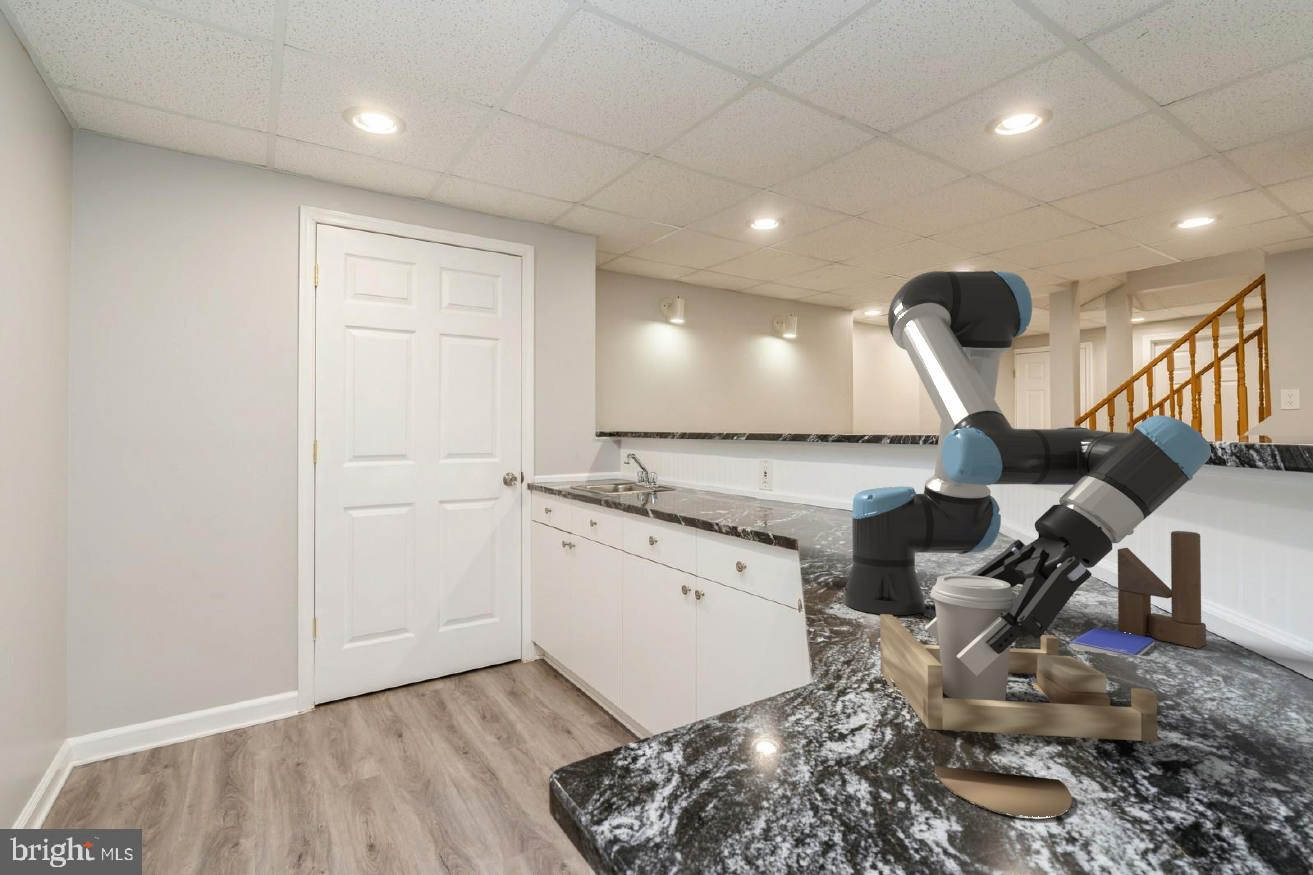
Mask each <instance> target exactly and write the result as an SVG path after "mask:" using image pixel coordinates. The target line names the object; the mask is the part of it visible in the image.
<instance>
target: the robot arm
mask: <svg viewBox="0 0 1313 875" xmlns="http://www.w3.org/2000/svg"><path fill="white" fill-rule="evenodd" d="M887 314H888V315H887V323H888V328H889V332H890V334H891V336H892V339H893V340H894V342H895V344H896V345H897V346H898V347H899V348H900V349H902V350H905V351H906V352H907V354H908V356H909V359H910V361H911V362H912V364H913V366H914V368H915V370H916V372H917V374H918V376H919V379H920V380H921V383H922V384H923V386H924V388H925V389H926V390H925V391H926V392H927V394H928V397H929V398H930V400H931V402H932V404H933V405H934V408H935V410H936V412H937V414H938V415H939V418H940V425H939V426H940V427H939V434H938V442H937V450H936V459H935V467H934V468H935V469H934V474H933V476H931V477H930V478H928V479H927V480H926V481H925V483H924V490H923V493H917V492H916V491H915V488H914V487H912V486H903V485H902V486H886V487H877V488H876V487H875V488H870V489H866V490H865V489H864V490H862V491H859V492H857V493H856V494H855V495H854V497H853V500H852V512H851V514H850V515H851V518H852V519H851V520H852V565H851V569H850V571H849V573H848V578H847V582H846V586H845V587H844V589H843V604H844V605H845V606H847V607H849V608H851V609H854V610H857V611H860V612H866V613H869V614H875V615H876V614H878V615H880V614H887V615H892V616H909V615H918V614H921V613H923V612H924V611H926V602H925V601H926V599H925V595H924V593H923V591H922V587H921V585H920V581H919V577H918V575H917V572H916V553H917V554H919V553H920V554H921V553H922V554H923V553H927V554H930V553H931V554H960V555H966V554H969V553H970V554H971V553H972V554H973V553H981V552H985V551H986V550H988V549H989V548H990V547H992V545H993V544H994V543H996V542H995V541H996V540H997V538H998V536H999V533H1000V529H1001V523H1002V516H1001V514H1000V510H1001V509H1000V506H999V504H998V502H997V500H996V499H995V498H994V497H993V496H991V491H992V490H991V489H990V488H989V487H988V486H991V485H1037V486H1042V485H1043V486H1046V485H1047V486H1049V485H1050V486H1051V485H1052V486H1071V487H1070V488H1069V489H1068V490H1067V491H1066V492H1065V493H1064V494H1063V495H1062V496H1061V497H1060V498H1059V500H1058V501H1059V502H1058V503H1059V504H1053V505H1051V507H1049V508H1048V509H1047V510H1046V511H1045V512H1044V513H1043V514H1042V515H1041V516H1040V517H1039V518H1038V519H1036V520H1035V523H1034V529H1035V531H1036V532H1037V534H1038V537H1037V539H1035V540H1033V541H1032V542H1030V543H1029V544H1025V543H1023V541H1021V539H1015V540H1014V541H1013V542H1012V543H1011V544H1010V545H1009V546H1008V547H1007V548H1006V549H1004V550H1003V551H1001V553H999V554H998V555H997V556H996V557H994V558H993V559H990V561H988V562H987V563H985V564H984V565H983V566H982V567H980V568H979V569H978V570H975V571H974V572H973V573H972V574H971V575H972V576H981V577H988V578H994V579H998V580H1002V581H1005V582H1007V583H1009V584H1010V585H1011V588H1012V589H1013V588H1014V587H1016V586H1018V585H1022V587H1021V588H1020V590H1019V592H1018V594H1017V595H1016V599H1015V601H1014V603H1013V605H1012V607H1011V608H1010V610H1009V611H1008V612H1002V613H1000V616H1001V617H1002V618H1003V619H1004V620H1005V621H1006V622H1007V623H1006V622H1005V621H1004V620H1002V619H1001V618H1000V617H998V618H997V619H996V620H995V621H994V622H993V623H992V624H991V625H990V626H988V627H987V628H986V629H985V630H984V631H983V632H982V633H981V634H980V635H979V636H978V637H977V638H975V639H974V640H973V641H972V642H971V643H970V644H969V645H968V646H967V647H966V648H965V649H963V650H962V651H961V652H960V653H959V654H958V655H957V657H958V658H959V659H960V660H961V661H962V662H963V663H964V664H965V665H966V666H967V667H968V668H969V669H970V670H971V671H972V672H973V673H974V674H975V675H976V676H978V675H979V674H980V673H981V672H982V671H983V670H984V669H985V668H986V667H987V666H988V665H990V664H991V663H992V662H993V661H994V660H995V659H996V658H997V657H998V656H999V655H1001V654H1002V653H1003V652H1004V651H1005V650H1006V649H1007V648H1008V647H1009V646H1010V645H1011V646H1012V645H1013V644H1014V643H1015V642H1016V641H1017V640H1018V639H1019V638H1020V637H1021V638H1026V637H1028V636H1032V637H1033V638H1034V639H1039V638H1041V636H1042V635H1045V632H1046V631H1047V630H1048V629H1049V627H1050V626H1051V624H1052V623H1053V622H1054V621H1055V619H1056V617H1057V616H1058V615H1059V613H1061V611H1062V610H1063V609H1064V607H1065V606H1066V604H1067V603H1068V601H1069V600H1070V599H1071V598H1072V596H1073V595H1074V593H1075V592H1077V590H1078V588H1079V587H1081V586H1082V585H1083V584H1084V583H1085V582H1087V580H1089V579H1090V577H1092V572H1091V571H1090V570H1089V569H1091V568H1093V567H1095V566H1096V565H1097V564H1099V562H1101V561H1102V560H1103V559H1104V558H1105V557H1106V556H1107V555H1108V554H1109V553H1110V552H1112V550H1113V544H1119V543H1120V542H1121V541H1123V539H1125V538H1126V537H1127V536H1131V535H1132V534H1134V532H1135V529H1136V528H1137V527H1138V526H1139V525H1140V524H1141V523H1142V522H1143V521H1145V520H1146V518H1148V517H1149V516H1151V515H1152V513H1154V512H1155V511H1156V510H1157V509H1158V508H1159V507H1160V506H1161V505H1162V504H1164V503H1165V502H1166V501H1167V500H1168V499H1170V497H1172V496H1173V495H1174V494H1175V493H1177V491H1179V490H1180V489H1181V488H1182V487H1183V486H1184V485H1186V484H1187V482H1189V481H1191V480H1193V476H1194V475H1195V474H1196V473H1197V472H1198V471H1199V470H1201V468H1202V467H1203V466H1204V465H1205V464H1206V463H1207V462H1208V461H1209V459H1210V458H1211V455H1212V449H1211V446H1210V443H1209V442H1208V440H1207V439H1206V438H1204V436H1203V435H1202V434H1201V433H1200V431H1198V429H1197V430H1196V429H1195V428H1194V427H1192V426H1191V425H1190V424H1187V423H1186V422H1184V421H1182V420H1180V419H1177V418H1174V417H1171V416H1167V415H1157V414H1156V415H1152V416H1150V417H1148V418H1146V419H1145V420H1143V421H1142V422H1141V423H1139V424H1137V425H1135V426H1134V428H1133V430H1132V431H1131V432H1121V431H1120V432H1115V431H1114V432H1112V431H1104V430H1099V429H1098V430H1097V429H1090V428H1086V427H1081V426H1079V427H1073V426H1072V427H1060V428H1056V429H1055V428H1050V429H1049V428H1048V429H1047V428H1046V429H1045V428H1043V429H1042V428H1041V429H1039V428H1037V429H1036V428H1013V427H1012V425H1011V423H1010V422H1009V421H1008V419H1007V418H1006V416H1005V414H1004V413H1003V412H1002V410H1001V408H1000V406H999V405H998V404H997V401H996V400H995V398H996V391H997V385H998V384H997V383H998V376H999V368H1000V362H1001V357H1002V356H1003V355H1005V354H1006V353H1008V352H1009V351H1010V350H1011V349H1012V345H1013V340H1014V339H1015V338H1017V337H1020V336H1022V335H1023V334H1025V332H1026V331H1027V327H1029V325H1030V322H1031V320H1032V314H1033V301H1032V294H1031V292H1030V288H1029V286H1028V285H1027V284H1026V281H1025V280H1024V279H1023V278H1022V277H1021V276H1020V275H1018V274H1016V273H1014V272H1008V271H996V270H988V271H987V270H985V271H984V270H983V271H982V270H981V271H980V270H978V271H977V270H975V271H971V270H970V271H966V270H965V271H962V270H961V271H945V270H944V271H942V270H937V271H936V270H934V271H928V272H924V273H921V274H918V275H917V276H914V277H913V278H911V279H910V280H908V281H907V282H905V283H904V284H903V286H901V287H900V288H899V290H898V291H897V292H896V293H895V295H894V296H893V298H892V300H891V302H890V304H889V310H888V313H887ZM1036 622H1037V623H1036ZM924 629H925V630H927V631H928V633H929V634H930V635H931V636H933V638H934V639H935V640H936V641H938V642H939V638H938V628H937V618H936V616H935V617H934V618H933V619H932V620H930V622H929V623H927V624H926V625H925V626H924ZM1011 646H1010V647H1011Z"/></svg>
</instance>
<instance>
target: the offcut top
mask: <svg viewBox="0 0 1313 875" xmlns="http://www.w3.org/2000/svg"><path fill="white" fill-rule="evenodd" d="M1037 656H1038V672H1039V673H1041V674H1043V675H1044V676H1046V677H1048V678H1049V679H1051V680H1052V681H1054V682H1056V683H1057V684H1059V685H1060V686H1062V687H1064V688H1065V689H1067V690H1068V691H1070V692H1097V693H1105V694H1106V693H1107V674H1105V673H1103V672H1101V671H1099V670H1097V669H1095V668H1093V666H1090V665H1088V664H1087V663H1084V662H1083V661H1080V660H1078V659H1076V658H1075V657H1073V656H1071V655H1059V656H1048V655H1037Z"/></svg>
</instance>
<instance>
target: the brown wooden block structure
mask: <svg viewBox="0 0 1313 875" xmlns="http://www.w3.org/2000/svg"><path fill="white" fill-rule="evenodd" d="M1201 552H1202V551H1201V534H1200V533H1198V532H1195V531H1187V530H1185V531H1183V530H1173V531H1171V532H1170V573H1171V574H1170V575H1171V576H1170V578H1171V580H1170V583H1171V584H1170V586H1171V587H1169V586H1168V585H1167V584H1166V583H1165V582H1164V581H1163V580H1162V579H1161V578H1160V577H1158V576H1157V575H1156V574H1155V573H1154V572H1153V571H1152V570H1151V569H1150V568H1149V567H1148V566H1147V565H1146V563H1144V562H1143V561H1142V560H1141V559H1140V558H1139V557H1138V556H1137V555H1136V554H1135V553H1134V552H1133V551H1132V550H1131V549H1129V548H1128V547H1122V548H1117V590H1118V592H1117V603H1118V604H1117V606H1118V607H1117V608H1118V609H1117V610H1118V611H1117V612H1118V614H1117V620H1118V622H1117V624H1118V626H1117V628H1118V632H1126V633H1131V634H1134V635H1139V636H1144V637H1146V636H1148V637H1151V636H1152V637H1151V638H1152V639H1154V640H1156V639H1157V641H1161V642H1164V641H1167V642H1166V643H1169V642H1172V643H1171V644H1173V643H1175V645H1178V644H1179V645H1178V646H1182V645H1183V647H1187V646H1190V647H1189V648H1191V647H1193V648H1192V649H1196V648H1198V649H1200V648H1202V646H1203V647H1205V646H1207V625H1206V623H1205V622H1202V565H1201V562H1202V561H1201V556H1202V555H1201ZM1151 596H1152V597H1155V598H1163V599H1170V600H1171V616H1169V615H1165V614H1158V613H1153V612H1152V605H1151V604H1152V602H1151V601H1152V600H1151V599H1152V597H1151ZM1147 634H1148V635H1147ZM1145 635H1146V636H1145Z"/></svg>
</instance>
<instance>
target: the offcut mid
mask: <svg viewBox="0 0 1313 875" xmlns="http://www.w3.org/2000/svg"><path fill="white" fill-rule="evenodd" d="M1036 684H1037V685H1038V686H1039V687H1040V689H1041V690H1042V691H1043V692H1044V693H1045V694H1046V696H1047V697H1048V698H1049V699H1050V700H1049V699H1048V698H1047V697H1046V696H1045V697H1046V698H1047V699H1048V700H1049V701H1050V702H1051V703H1055V704H1075V705H1095V706H1111V697H1110V696H1108V695H1107V694H1106V693H1097V692H1070V691H1068V690H1067V689H1065V688H1064V687H1062V686H1060V685H1059V684H1057V683H1056V682H1054V681H1052V680H1051V679H1049V678H1048V677H1046V676H1044V675H1043V674H1041V673H1039V672H1038V668H1037V674H1036Z"/></svg>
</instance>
